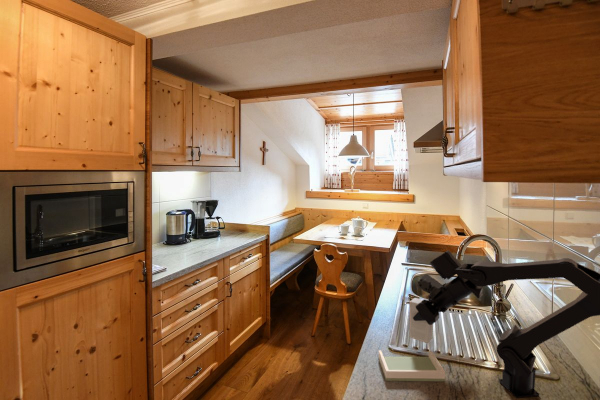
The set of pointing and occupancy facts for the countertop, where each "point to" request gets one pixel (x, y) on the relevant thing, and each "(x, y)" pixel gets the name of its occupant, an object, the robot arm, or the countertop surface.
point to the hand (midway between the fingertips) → (416, 316)
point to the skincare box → (419, 325)
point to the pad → (412, 368)
